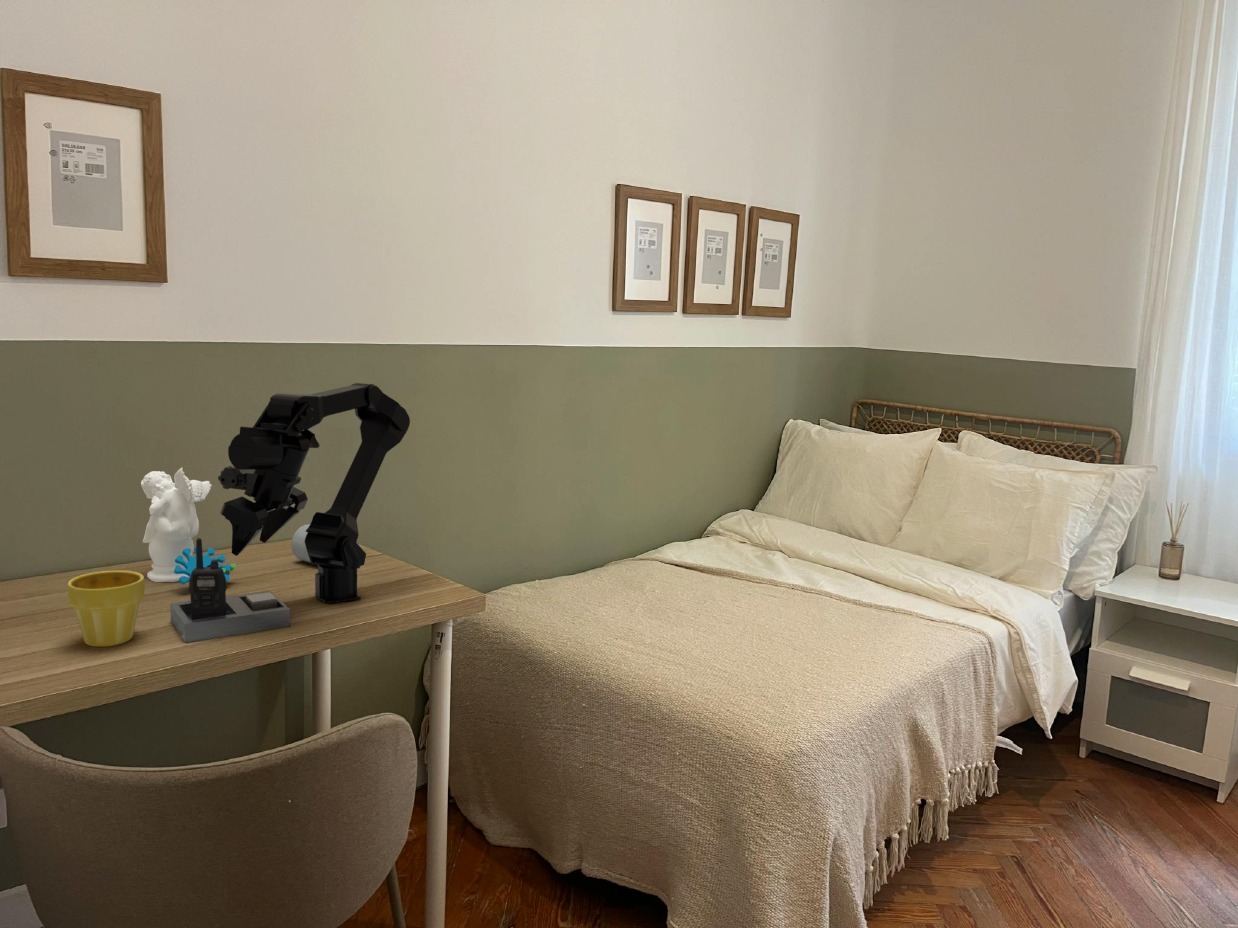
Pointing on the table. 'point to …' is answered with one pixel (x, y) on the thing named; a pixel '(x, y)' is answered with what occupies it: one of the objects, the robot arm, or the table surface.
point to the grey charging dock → (228, 619)
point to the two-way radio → (207, 588)
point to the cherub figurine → (171, 520)
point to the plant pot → (106, 605)
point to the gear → (206, 561)
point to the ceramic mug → (300, 544)
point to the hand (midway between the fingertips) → (248, 547)
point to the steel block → (261, 601)
